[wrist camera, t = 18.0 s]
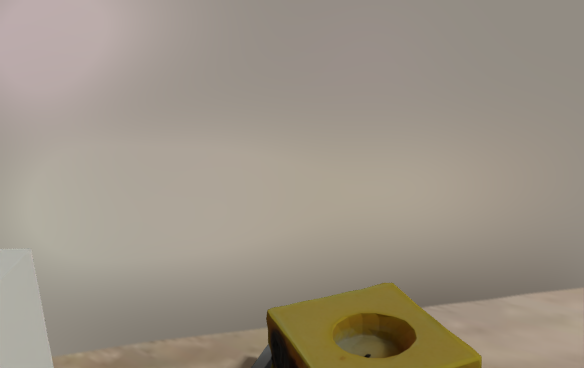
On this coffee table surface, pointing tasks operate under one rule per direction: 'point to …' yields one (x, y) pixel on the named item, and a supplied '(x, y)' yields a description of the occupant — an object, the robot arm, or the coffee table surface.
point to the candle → (363, 333)
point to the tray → (264, 359)
